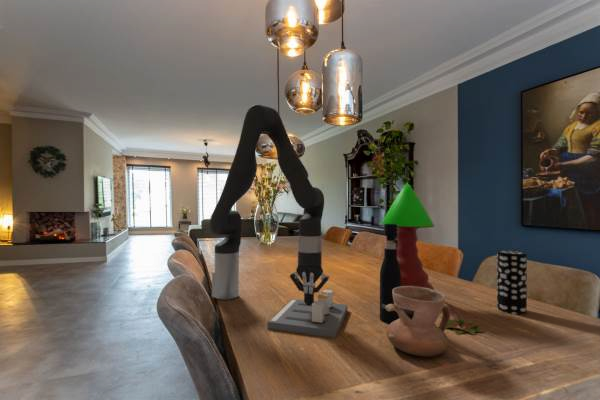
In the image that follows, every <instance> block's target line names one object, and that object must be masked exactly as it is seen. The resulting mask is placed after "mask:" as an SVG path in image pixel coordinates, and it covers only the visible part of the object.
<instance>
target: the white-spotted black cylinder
mask: <svg viewBox="0 0 600 400" xmlns="http://www.w3.org/2000/svg"><path fill="white" fill-rule="evenodd" d="M496 252H497V253H496V261H497V262H496V265H497V266H496V273H497V274H496V292H497V293H496V303H497V304H496V306H497V307H496V309H497V308H498V309H499V310H498V309H497V310H498V311H500V312H502V311H503V313H506V314H510V313H511V314H510V315H516V314H519V315H518V316H520V315H521V316H523V315H522V314H524V315H526V314H527V312H528V311H527V307H528V306H527V303H528V302H527V301H528V300H527V299H528V298H527V297H528V296H527V295H528V294H527V293H528V292H527V290H528V289H527V287H528V285H527V284H528V283H527V282H528V281H527V278H528V277H527V276H528V274H527V272H528V271H527V268H528V267H527V261H528V260H527V253H526V252H524V251H517V250H505V249H504V250H497V251H496Z"/></svg>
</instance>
